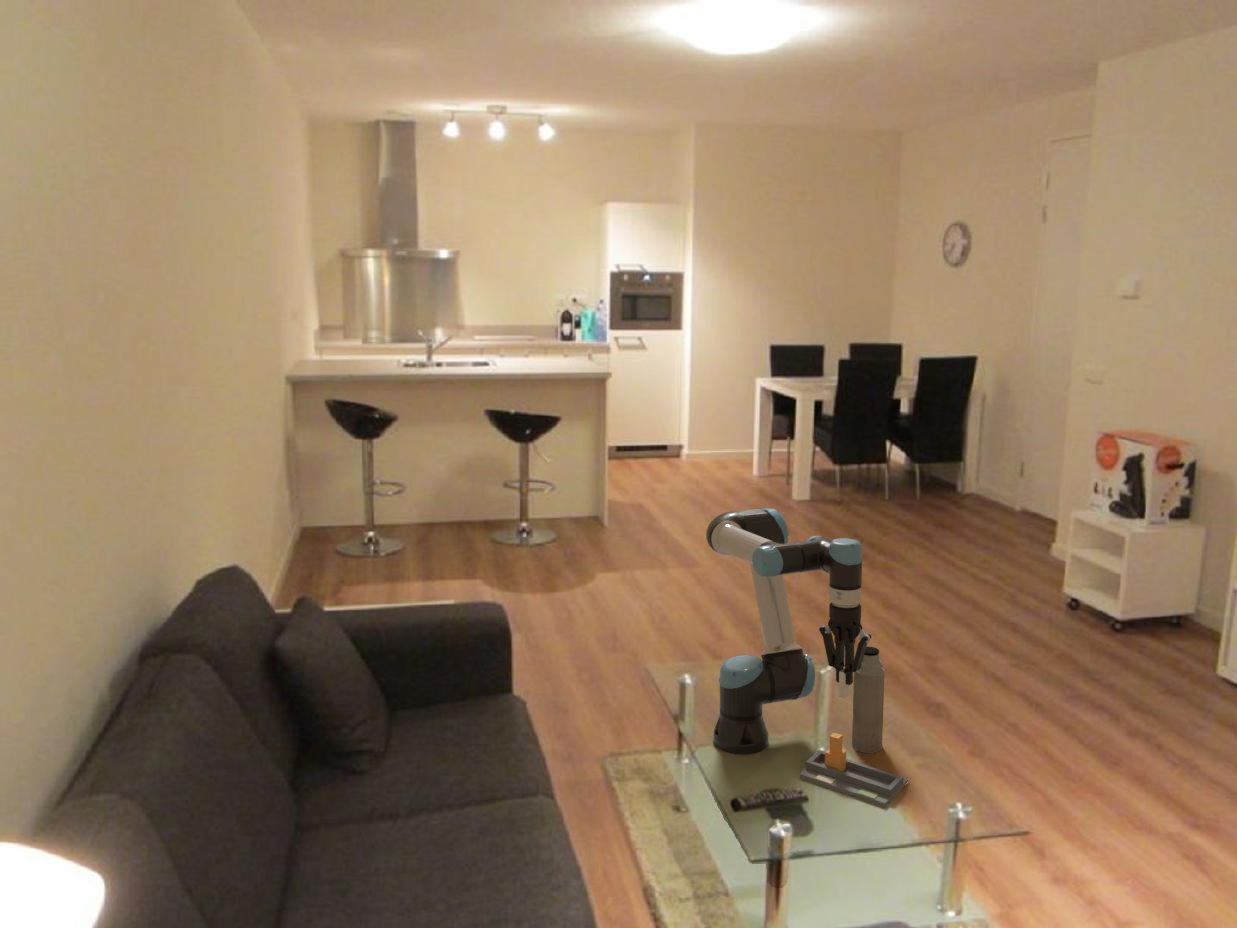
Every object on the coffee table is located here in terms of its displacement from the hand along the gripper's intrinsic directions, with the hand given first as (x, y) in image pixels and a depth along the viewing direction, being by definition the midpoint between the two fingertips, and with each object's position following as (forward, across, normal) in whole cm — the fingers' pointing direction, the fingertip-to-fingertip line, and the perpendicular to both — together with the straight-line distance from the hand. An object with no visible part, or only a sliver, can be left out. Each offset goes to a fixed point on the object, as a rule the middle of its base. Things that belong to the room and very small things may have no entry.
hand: (844, 695), depth 232 cm
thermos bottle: (+25, -6, +25) cm, 36 cm away
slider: (+23, -5, +6) cm, 25 cm away
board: (+25, 0, +6) cm, 26 cm away
